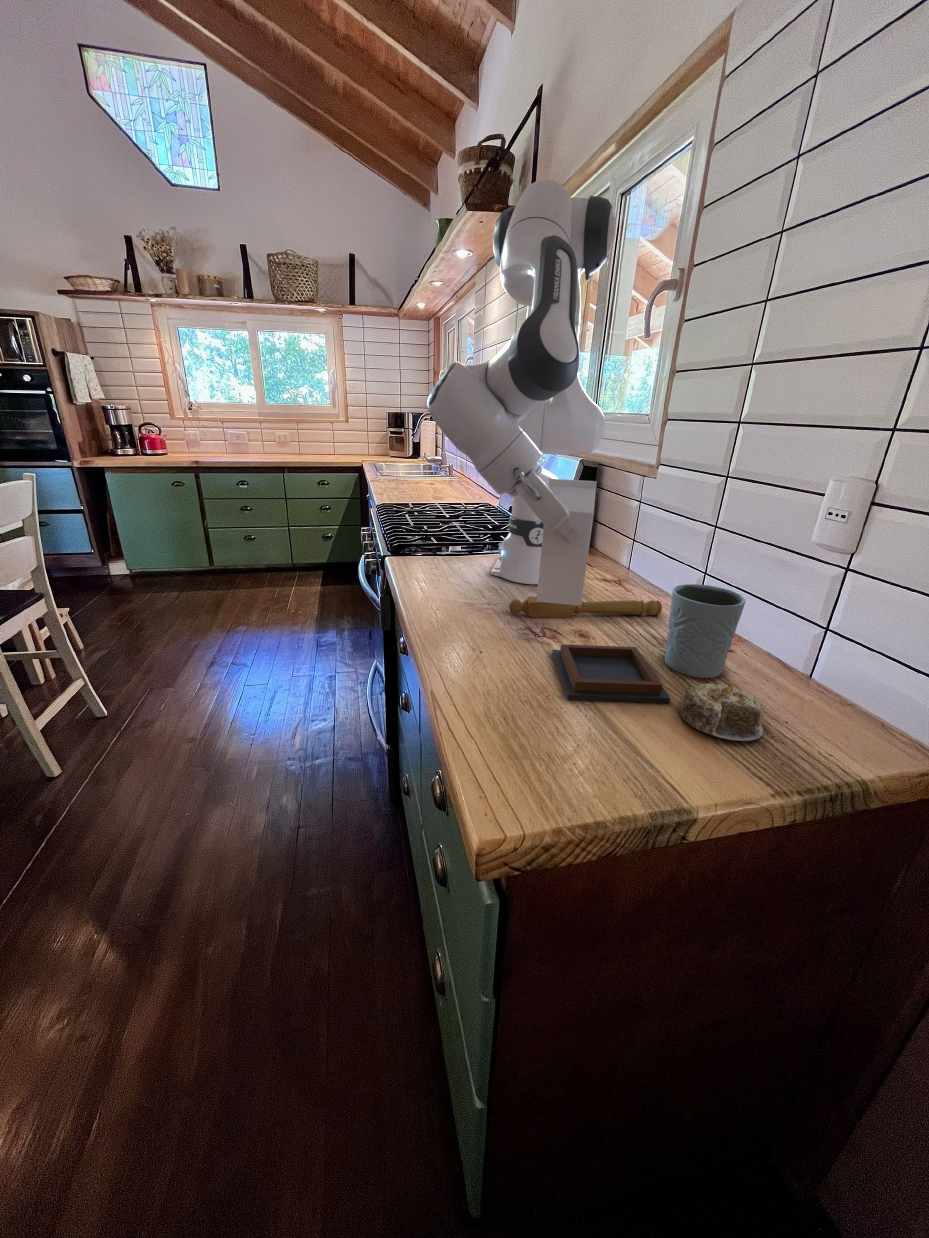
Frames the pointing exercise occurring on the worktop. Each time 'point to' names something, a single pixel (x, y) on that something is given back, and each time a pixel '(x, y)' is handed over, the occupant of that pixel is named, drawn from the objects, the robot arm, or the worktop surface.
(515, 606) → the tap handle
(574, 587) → the milk carton
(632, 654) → the shallow square tray
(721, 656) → the blue plant pot
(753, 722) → the cake
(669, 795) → the worktop surface
